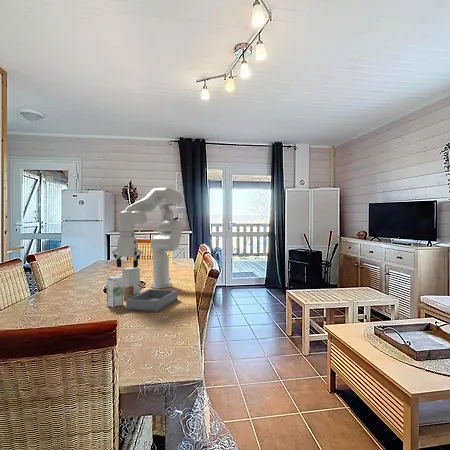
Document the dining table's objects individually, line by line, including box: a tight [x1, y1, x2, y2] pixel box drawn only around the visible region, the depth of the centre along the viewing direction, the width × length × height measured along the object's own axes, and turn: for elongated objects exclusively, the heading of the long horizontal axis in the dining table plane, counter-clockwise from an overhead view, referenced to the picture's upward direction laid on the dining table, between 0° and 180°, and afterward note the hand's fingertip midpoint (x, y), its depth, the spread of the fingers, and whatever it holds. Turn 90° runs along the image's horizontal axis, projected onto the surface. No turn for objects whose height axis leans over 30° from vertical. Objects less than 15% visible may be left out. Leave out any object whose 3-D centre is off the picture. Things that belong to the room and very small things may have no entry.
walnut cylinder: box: [123, 285, 135, 302], centre depth 169 cm, size 5×5×7 cm
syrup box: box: [106, 274, 124, 309], centre depth 157 cm, size 6×6×14 cm
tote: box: [125, 288, 178, 313], centre depth 158 cm, size 22×16×5 cm
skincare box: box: [121, 267, 141, 296], centre depth 181 cm, size 8×6×15 cm
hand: (127, 267), depth 168 cm, fingers open, 9 cm apart
